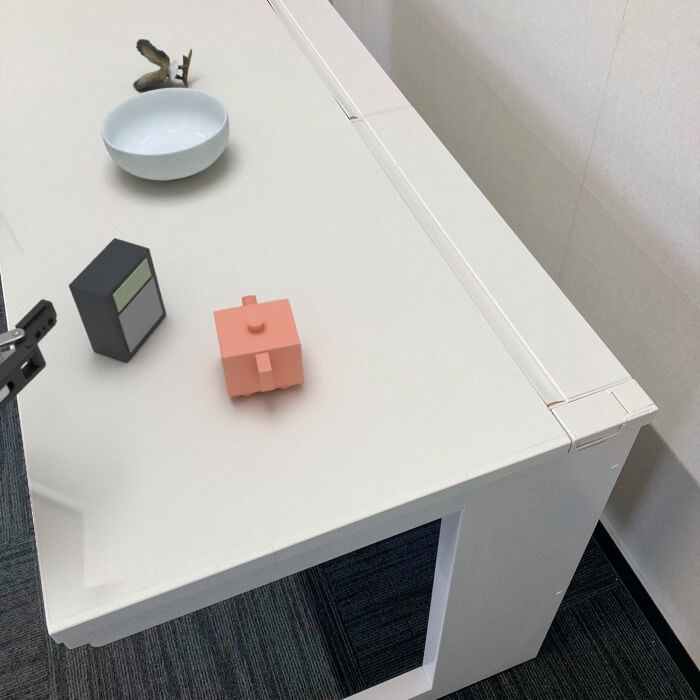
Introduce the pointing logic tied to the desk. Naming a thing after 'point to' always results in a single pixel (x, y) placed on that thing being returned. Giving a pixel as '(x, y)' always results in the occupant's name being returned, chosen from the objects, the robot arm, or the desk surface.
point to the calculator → (119, 299)
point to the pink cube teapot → (259, 346)
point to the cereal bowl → (166, 133)
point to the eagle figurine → (162, 61)
